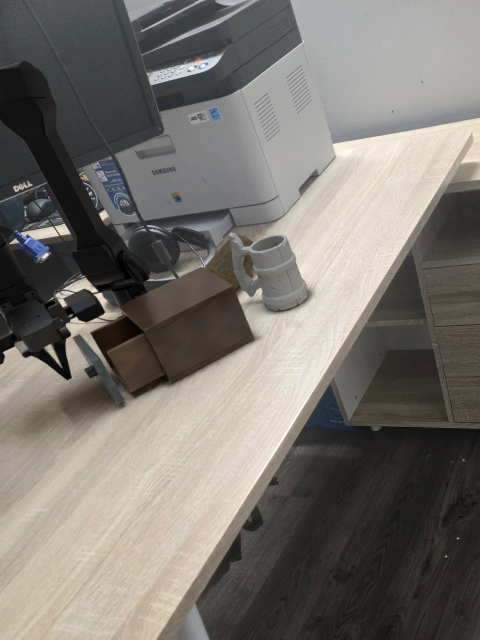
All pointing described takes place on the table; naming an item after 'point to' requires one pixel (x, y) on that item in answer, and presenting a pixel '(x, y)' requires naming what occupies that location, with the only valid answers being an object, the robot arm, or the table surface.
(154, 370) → the drawer
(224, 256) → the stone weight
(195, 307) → the cabinet
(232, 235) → the mug
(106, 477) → the table surface
